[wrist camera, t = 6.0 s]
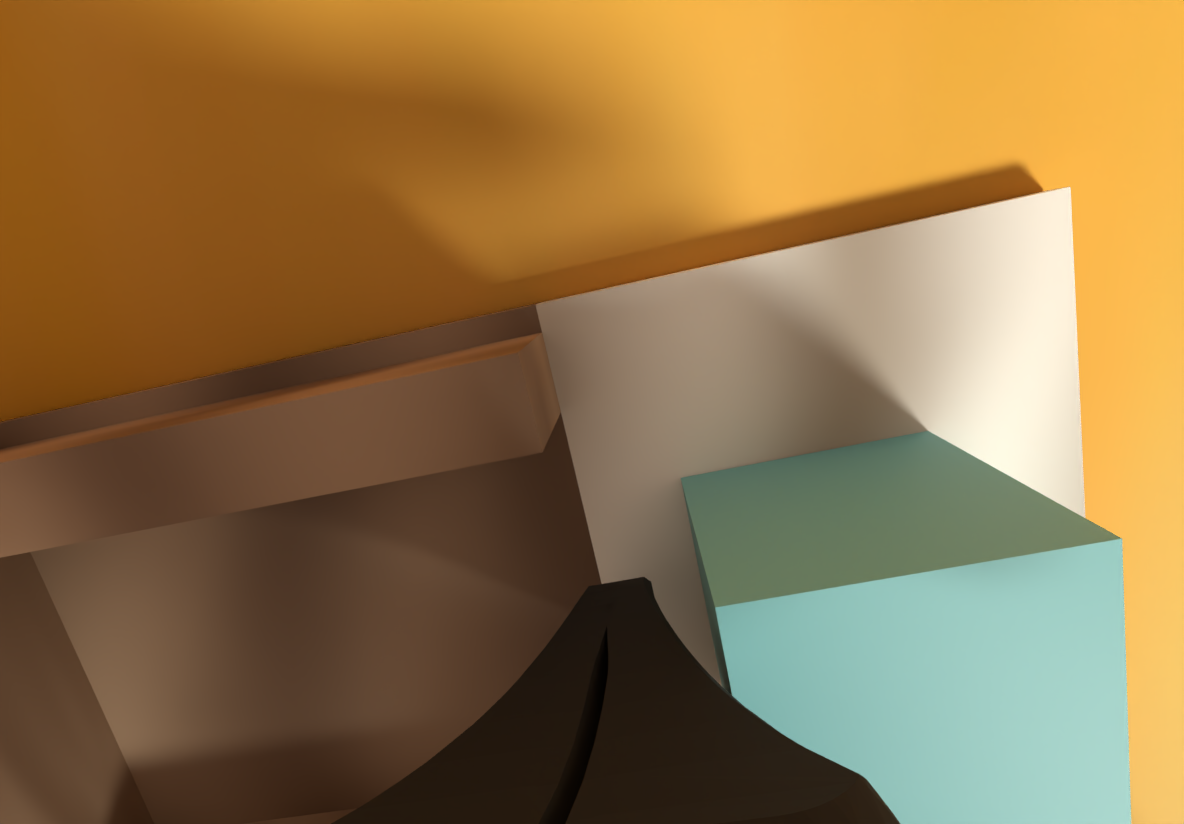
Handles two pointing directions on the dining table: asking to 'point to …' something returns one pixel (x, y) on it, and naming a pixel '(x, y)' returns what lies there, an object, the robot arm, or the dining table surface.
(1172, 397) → the dining table surface
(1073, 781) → the teal block
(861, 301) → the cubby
